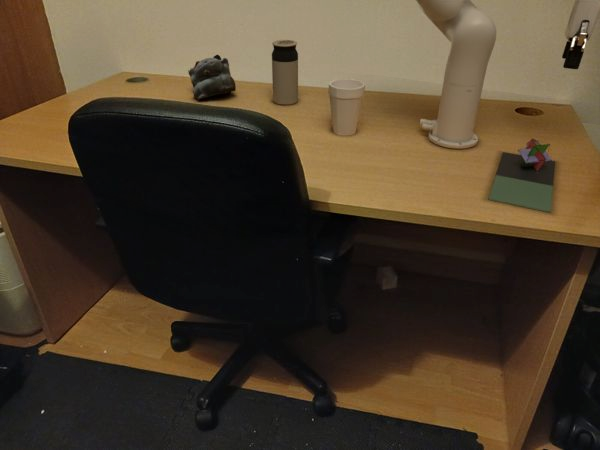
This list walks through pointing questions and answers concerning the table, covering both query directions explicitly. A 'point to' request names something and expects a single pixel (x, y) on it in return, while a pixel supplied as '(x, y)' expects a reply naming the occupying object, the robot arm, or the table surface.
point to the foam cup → (345, 104)
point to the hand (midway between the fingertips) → (569, 63)
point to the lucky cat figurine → (211, 77)
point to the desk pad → (523, 183)
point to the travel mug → (285, 72)
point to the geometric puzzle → (534, 154)
